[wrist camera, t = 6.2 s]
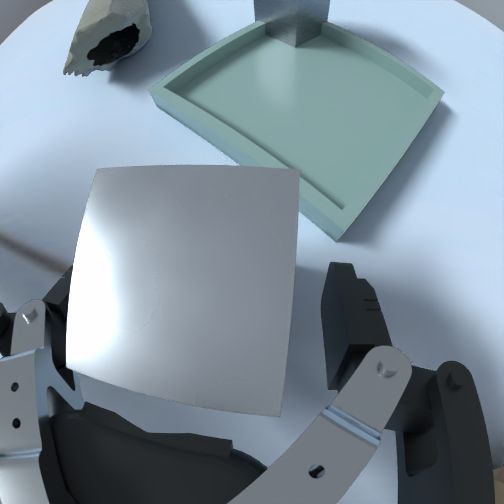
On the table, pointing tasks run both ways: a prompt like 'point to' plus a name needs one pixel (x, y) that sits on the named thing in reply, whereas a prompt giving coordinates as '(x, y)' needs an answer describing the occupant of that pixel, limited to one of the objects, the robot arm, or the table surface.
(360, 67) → the tray
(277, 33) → the post
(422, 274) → the table surface
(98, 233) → the post
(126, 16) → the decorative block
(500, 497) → the toy
